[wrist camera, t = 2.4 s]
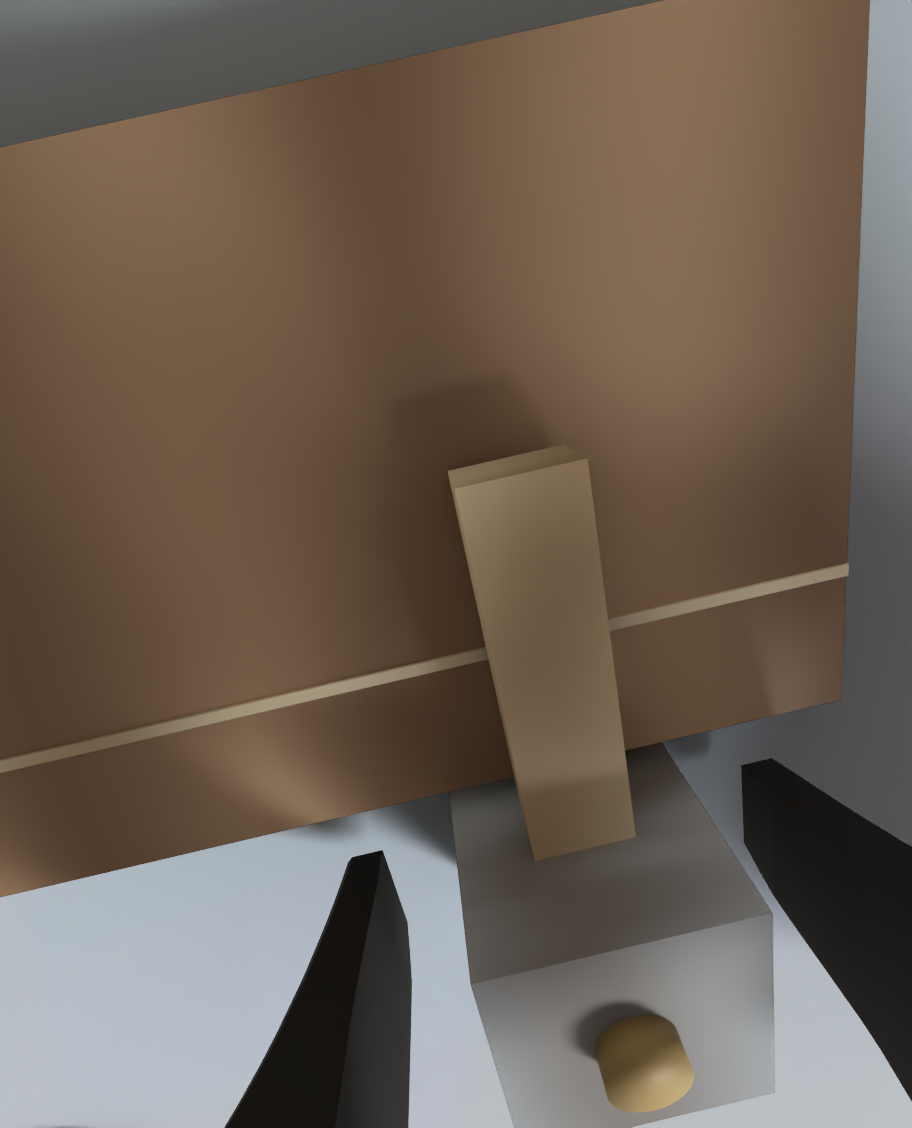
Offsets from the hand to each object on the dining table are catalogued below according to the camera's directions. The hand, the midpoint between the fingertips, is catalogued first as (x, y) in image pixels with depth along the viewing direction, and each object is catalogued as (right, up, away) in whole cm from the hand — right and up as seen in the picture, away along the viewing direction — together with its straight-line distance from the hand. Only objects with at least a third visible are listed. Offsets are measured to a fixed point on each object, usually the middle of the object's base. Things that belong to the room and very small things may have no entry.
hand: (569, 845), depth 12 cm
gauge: (-1, +3, 0) cm, 3 cm away
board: (-8, +6, -1) cm, 10 cm away
